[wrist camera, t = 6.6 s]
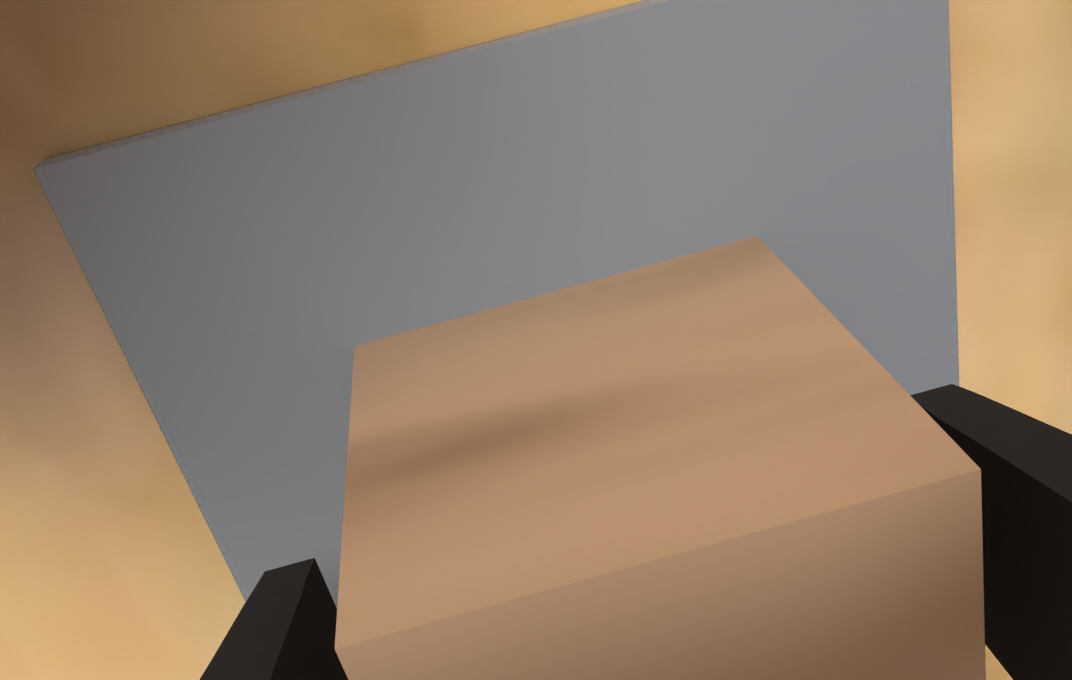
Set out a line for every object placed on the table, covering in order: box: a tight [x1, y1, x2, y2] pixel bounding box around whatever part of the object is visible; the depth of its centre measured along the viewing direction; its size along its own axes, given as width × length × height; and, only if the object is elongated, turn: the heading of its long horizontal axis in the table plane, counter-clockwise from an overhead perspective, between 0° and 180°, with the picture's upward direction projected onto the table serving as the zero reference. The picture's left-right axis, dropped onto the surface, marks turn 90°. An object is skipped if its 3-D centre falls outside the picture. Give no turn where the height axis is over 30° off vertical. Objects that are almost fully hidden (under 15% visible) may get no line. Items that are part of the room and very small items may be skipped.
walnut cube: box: [335, 236, 986, 680], centre depth 12 cm, size 6×6×6 cm
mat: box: [33, 0, 959, 608], centre depth 14 cm, size 11×11×1 cm
